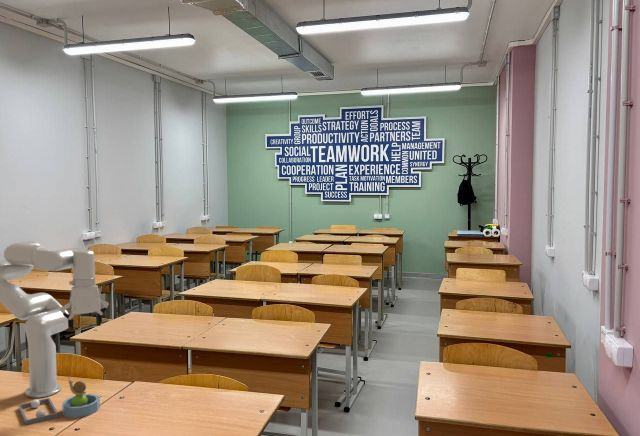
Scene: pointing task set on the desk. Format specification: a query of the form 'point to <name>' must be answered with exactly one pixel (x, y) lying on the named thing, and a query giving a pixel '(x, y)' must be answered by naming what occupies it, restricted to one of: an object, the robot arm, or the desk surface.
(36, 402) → the pebble
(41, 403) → the tray
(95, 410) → the bowl
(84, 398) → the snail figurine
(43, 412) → the pebble
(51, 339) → the robot arm
